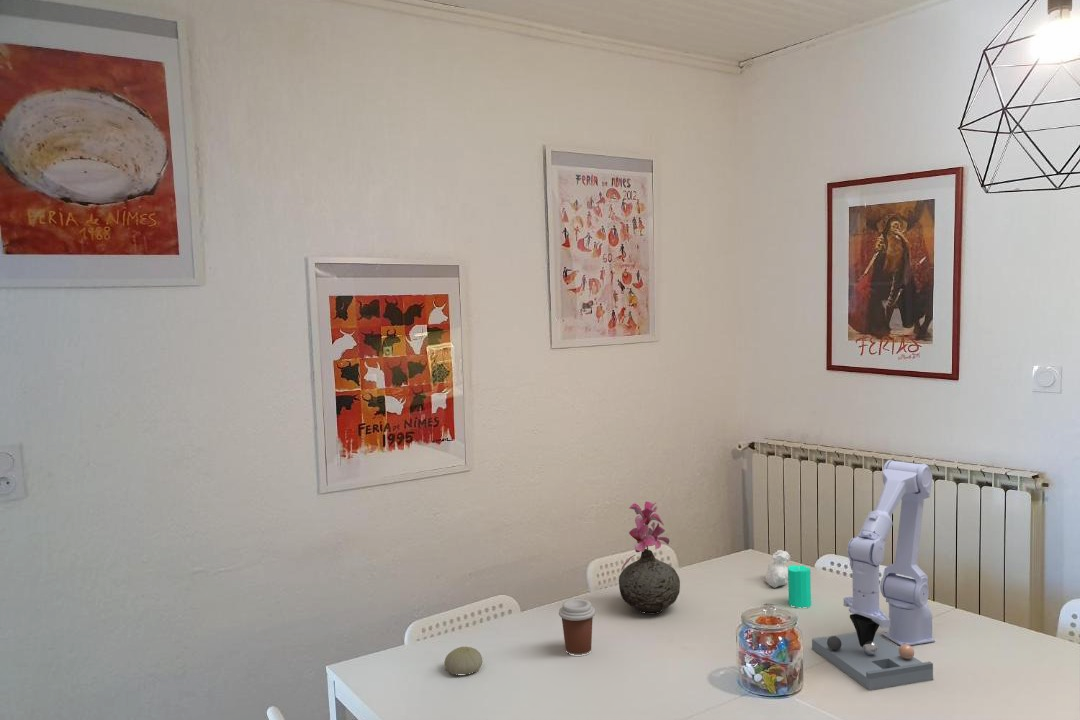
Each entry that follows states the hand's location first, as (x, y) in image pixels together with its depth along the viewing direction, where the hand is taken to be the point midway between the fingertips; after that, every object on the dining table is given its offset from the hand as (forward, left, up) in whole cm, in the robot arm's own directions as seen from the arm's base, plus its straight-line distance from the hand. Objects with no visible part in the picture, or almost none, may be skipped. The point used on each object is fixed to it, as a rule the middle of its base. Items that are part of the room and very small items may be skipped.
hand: (866, 646), depth 181 cm
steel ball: (0, +1, 0) cm, 1 cm away
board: (0, +1, -4) cm, 4 cm away
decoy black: (+6, -3, 0) cm, 7 cm away
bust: (-8, -53, -4) cm, 54 cm away
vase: (+36, -46, -4) cm, 59 cm away
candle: (-5, -36, -4) cm, 37 cm away
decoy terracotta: (-6, +6, 0) cm, 9 cm away
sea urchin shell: (+91, -26, -4) cm, 95 cm away
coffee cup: (+62, -27, -4) cm, 68 cm away
